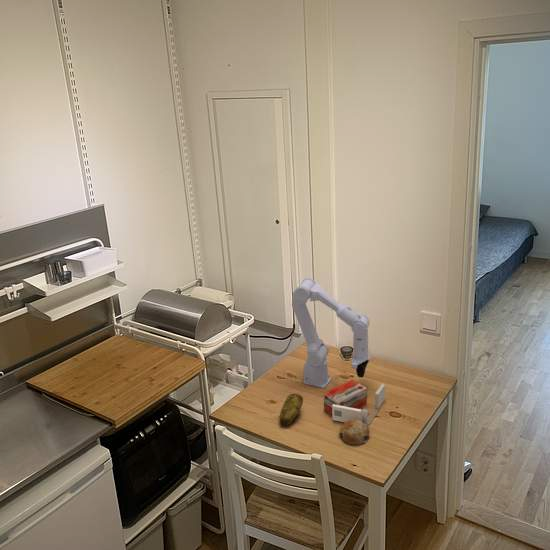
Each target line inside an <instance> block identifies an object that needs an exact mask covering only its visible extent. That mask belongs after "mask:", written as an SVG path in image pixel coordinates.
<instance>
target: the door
mask: <svg viewBox="0 0 550 550" xmlns="http://www.w3.org/2000/svg"><path fill="white" fill-rule="evenodd" d="M331 416H332V417H331V418H332V421H337V422H341V423H345V422H347V421H349V420H358V421H362V408H360V409H355V408H350V407H345V406H340V405H334V404H333V405H332V415H331Z"/></svg>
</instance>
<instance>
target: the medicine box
mask: <svg viewBox="0 0 550 550" xmlns="http://www.w3.org/2000/svg"><path fill="white" fill-rule="evenodd" d="M367 399H368V389H367V387H366V386H364V385H362V384H360V383H359V382H357V381H355V380H353V379H351V380H349V381H346V382H345V383H343V384H340V385H338V386H336V387H334V388H332V389H329V390H328V391H325V392H324V393H323V410H324V412H326V411H327V412H326V413H328V414H329V413H330V414H329V415H331V416H332V405H333V404H334V405H340V406H345V407H350V408H355V409H362V408H364V407H366V406H367V402H368V401H367Z"/></svg>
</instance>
